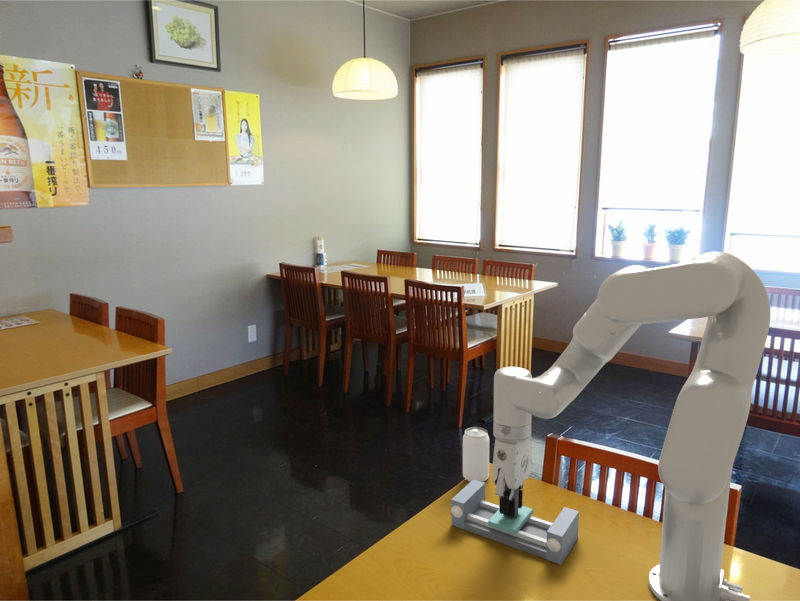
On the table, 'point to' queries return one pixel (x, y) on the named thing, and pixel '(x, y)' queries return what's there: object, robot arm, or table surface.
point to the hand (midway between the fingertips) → (510, 509)
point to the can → (476, 454)
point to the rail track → (531, 537)
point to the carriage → (509, 522)
